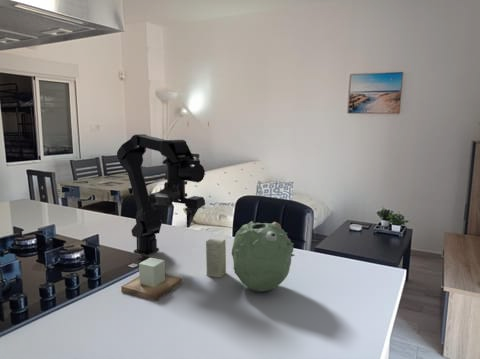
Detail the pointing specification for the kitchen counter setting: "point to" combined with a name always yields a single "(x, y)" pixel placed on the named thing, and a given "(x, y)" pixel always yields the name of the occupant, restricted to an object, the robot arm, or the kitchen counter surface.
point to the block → (152, 272)
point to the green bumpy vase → (262, 255)
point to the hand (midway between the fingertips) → (176, 225)
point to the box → (216, 257)
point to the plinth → (148, 291)
